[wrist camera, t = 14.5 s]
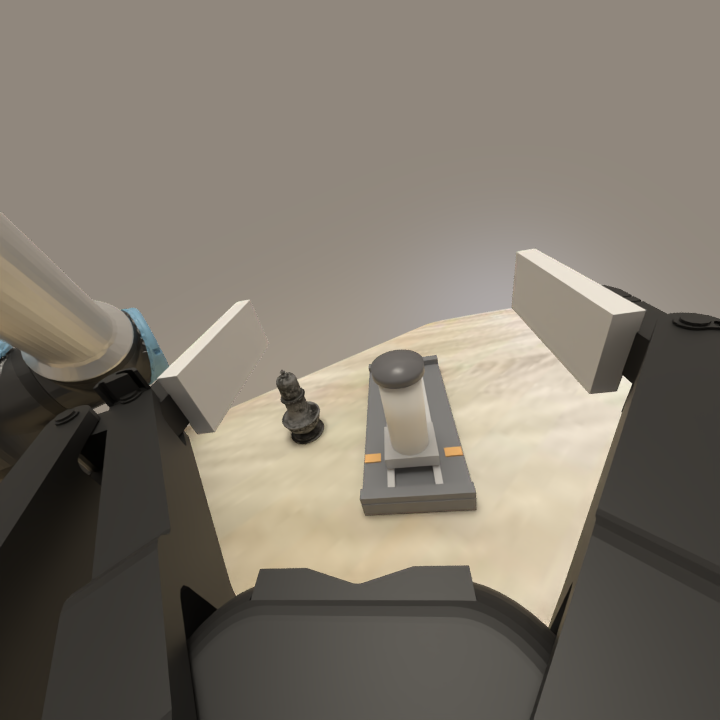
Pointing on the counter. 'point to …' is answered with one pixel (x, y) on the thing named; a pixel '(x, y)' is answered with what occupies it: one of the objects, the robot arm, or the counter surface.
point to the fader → (404, 410)
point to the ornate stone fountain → (298, 410)
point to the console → (422, 483)
